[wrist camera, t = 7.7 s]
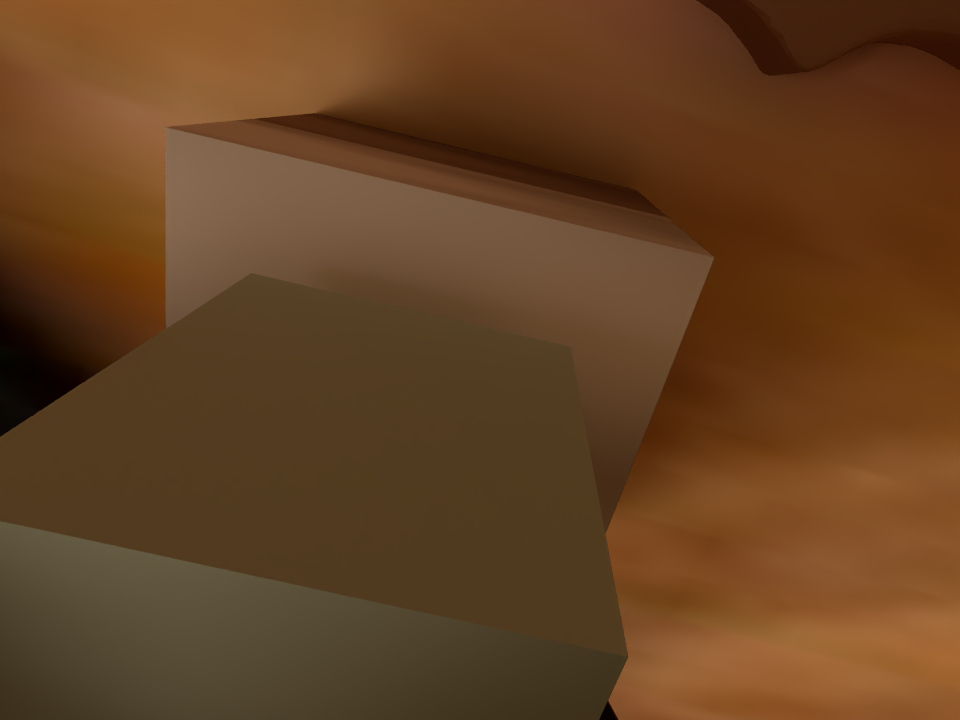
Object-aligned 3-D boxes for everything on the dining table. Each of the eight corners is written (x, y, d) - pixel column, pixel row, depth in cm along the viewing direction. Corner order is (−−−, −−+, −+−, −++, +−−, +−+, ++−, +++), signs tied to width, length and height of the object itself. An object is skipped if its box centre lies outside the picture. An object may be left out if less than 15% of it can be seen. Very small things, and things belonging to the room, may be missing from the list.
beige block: (533, 511, 19) (537, 706, 13) (281, 455, 18) (166, 626, 12) (636, 190, 14) (714, 257, 9) (314, 113, 14) (164, 126, 8)
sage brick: (466, 681, 11) (427, 1089, 7) (230, 630, 11) (22, 1010, 6) (570, 347, 8) (629, 655, 4) (250, 272, 8) (-96, 499, 4)
